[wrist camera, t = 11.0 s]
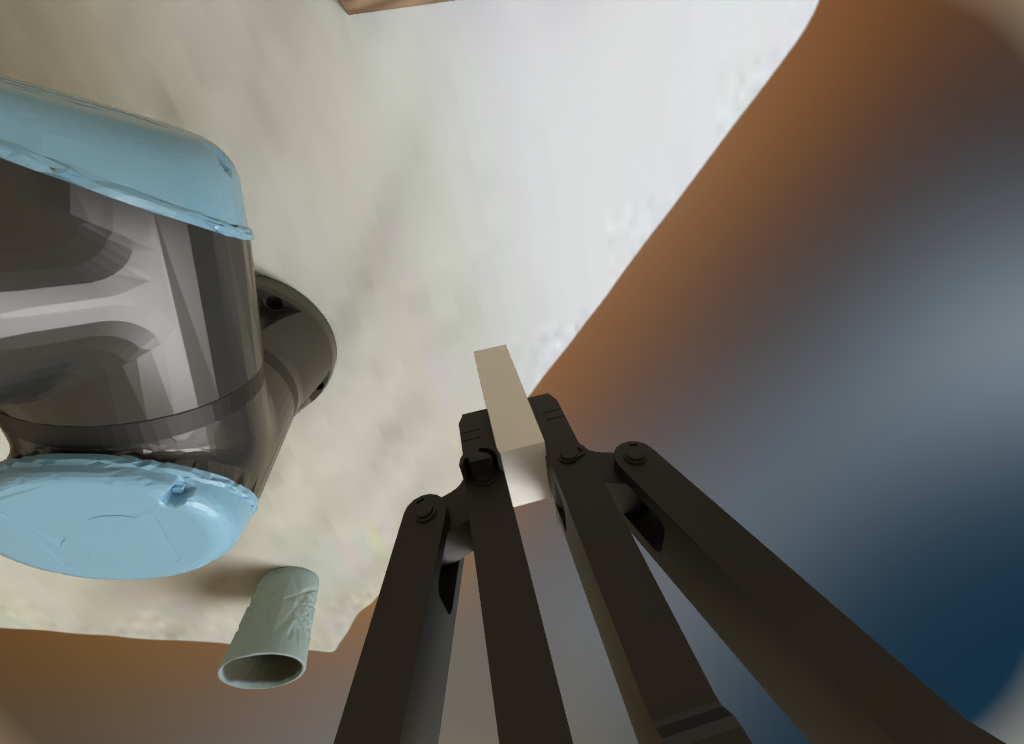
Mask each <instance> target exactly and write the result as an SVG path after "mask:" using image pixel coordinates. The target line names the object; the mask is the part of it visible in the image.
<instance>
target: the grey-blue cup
mask: <svg viewBox="0 0 1024 744" xmlns="http://www.w3.org/2000/svg"><path fill="white" fill-rule="evenodd" d="M318 588H319V579H318V577H317V575H316V574H315V573H313V572H312V571H310V570H307V569H304V568H299V567H283V568H278V569H274V570H272V571H270V572H268V573H266V574H265V575H264V576H263V577H262V578H261V579H260V581H259V583H258V585H257V587H256V589H255V592H254V594H253V596H252V599H251V603H250V606H249V607H248V608H247V609H246V611H245V614H244V616H243V618H242V621H241V623H240V625H239V629H238V631H237V632H236V634H235V636H234V638H233V640H232V642H231V644H230V646H229V649H228V651H227V653H226V655H225V657H224V659H223V661H222V663H221V665H220V667H219V669H218V676H219V679H220V680H221V681H223V682H224V683H226V684H228V685H230V686H233V687H238V688H245V689H263V688H272V687H277V686H281V685H284V684H287V683H290V682H292V681H294V680H296V679H297V678H299V677H300V676H301V675H302V674H303V673H304V671H305V669H306V663H307V655H308V648H309V642H310V628H311V627H312V624H313V617H314V611H315V608H314V606H315V602H316V599H317V593H318Z"/></svg>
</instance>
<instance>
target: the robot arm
mask: <svg viewBox="0 0 1024 744" xmlns="http://www.w3.org/2000/svg"><path fill="white" fill-rule="evenodd" d="M251 240H254V236H253V232H252V230H251V229H250V228H249V227H248V225H247V219H246V213H245V207H244V202H243V196H242V190H241V184H240V179H239V175H238V172H237V170H236V168H235V166H234V164H233V163H232V161H231V160H230V158H229V157H228V156H227V155H226V154H225V153H224V152H223V151H222V150H221V149H220V148H219V147H218V146H216V145H215V144H214V143H212V142H211V141H209V140H207V139H205V138H204V137H202V136H200V135H197V134H195V133H192V132H190V131H187V130H184V129H181V128H178V127H175V126H172V125H169V124H166V123H163V122H160V121H156V120H153V119H150V118H147V117H143V116H140V115H137V114H134V113H130V112H127V111H124V110H120V109H117V108H113V107H110V106H107V105H103V104H100V103H96V102H93V101H89V100H86V99H82V98H79V97H75V96H72V95H68V94H65V93H61V92H58V91H54V90H51V89H47V88H44V87H40V86H37V85H33V84H29V83H26V82H22V81H19V80H15V79H11V78H8V77H4V76H1V75H0V428H1V430H2V431H3V433H4V435H5V437H6V439H7V440H8V442H9V445H10V453H9V455H8V457H7V459H5V460H3V461H1V462H0V555H2V556H4V557H7V558H9V559H12V560H14V561H16V562H19V563H22V564H25V565H28V566H31V567H34V568H37V569H41V570H45V571H50V572H55V573H61V574H64V575H69V576H75V577H82V578H91V579H105V580H142V579H153V578H161V577H167V576H172V575H177V574H182V573H185V572H189V571H192V570H195V569H197V568H200V567H202V566H204V565H206V564H207V563H209V562H210V561H213V560H215V559H217V558H219V557H221V556H223V555H224V554H225V553H226V552H228V551H229V550H230V549H231V548H232V547H233V546H234V545H235V543H236V542H237V541H238V539H239V537H240V536H241V534H242V532H243V530H244V528H245V527H246V525H247V523H248V521H249V520H250V518H251V516H253V515H254V513H255V512H256V511H257V509H258V502H259V498H260V495H261V493H262V491H263V488H264V486H265V484H266V481H267V479H268V477H269V474H270V472H271V470H272V467H273V465H274V463H275V460H276V458H277V455H278V453H279V451H280V448H281V446H282V444H283V441H284V439H285V437H286V434H287V432H288V430H289V427H290V425H291V422H292V420H293V417H294V416H295V415H296V414H297V413H299V412H300V411H301V410H302V409H304V408H305V407H306V406H307V405H308V404H310V403H311V402H312V401H313V400H315V399H316V398H317V397H318V396H319V395H320V394H321V393H322V391H323V390H324V389H325V387H326V386H327V384H328V382H329V380H330V378H331V375H332V373H333V370H334V367H335V363H336V358H337V347H336V341H335V337H334V334H333V332H332V329H331V327H330V325H329V323H328V322H327V320H326V318H325V317H324V316H323V314H322V313H321V312H320V311H319V310H318V308H317V307H316V306H315V305H314V304H313V303H312V302H310V301H309V300H308V299H307V298H306V297H304V296H303V295H302V294H300V293H299V292H297V291H296V290H294V289H292V288H290V287H289V286H287V285H285V284H283V283H280V282H278V281H275V280H273V279H270V278H266V277H263V276H259V275H255V274H254V265H253V257H252V248H251ZM474 356H475V360H476V365H477V369H478V374H479V378H480V382H481V387H482V391H483V395H484V400H485V404H486V408H487V409H484V410H479V411H475V412H471V413H467V414H463V415H462V418H461V420H460V422H459V429H460V436H461V444H462V451H463V455H462V457H461V458H460V464H459V466H460V469H461V472H462V476H463V481H462V482H461V484H460V485H459V486H458V487H457V488H456V489H455V490H453V491H452V492H451V493H449V494H447V495H445V496H443V497H442V498H441V497H440V496H438V495H434V494H427V495H423V496H420V497H418V498H417V499H415V500H413V501H412V502H411V503H410V504H409V505H408V507H407V509H406V511H405V512H404V515H403V518H402V522H401V525H400V528H399V531H398V535H397V538H396V541H395V545H394V548H393V551H392V554H391V558H390V561H389V564H388V567H387V571H386V574H385V577H384V581H383V584H382V587H381V590H380V594H379V597H378V600H377V604H376V607H375V610H374V613H373V617H372V620H371V623H370V626H369V630H368V633H367V636H366V639H365V643H364V646H363V649H362V653H361V656H360V659H359V663H358V666H357V669H356V672H355V676H354V679H353V682H352V685H351V688H350V692H349V695H348V698H347V702H346V705H345V708H344V712H343V715H342V718H341V722H340V724H339V728H338V731H337V734H336V737H335V741H334V744H438V741H439V734H440V727H441V719H442V713H443V705H444V698H445V691H446V684H447V677H448V670H449V663H450V656H451V649H452V641H453V635H454V627H455V620H456V613H457V605H458V599H459V592H460V584H461V578H462V570H463V563H464V557H465V556H466V555H467V554H469V553H471V552H472V551H474V556H475V563H476V571H477V579H478V586H479V594H480V601H481V608H482V616H483V624H484V630H485V638H486V646H487V654H488V661H489V669H490V676H491V684H492V691H493V699H494V707H495V714H496V722H497V729H498V737H499V744H573V742H572V737H571V734H570V729H569V726H568V722H567V718H566V714H565V710H564V706H563V702H562V698H561V694H560V690H559V686H558V682H557V678H556V674H555V670H554V666H553V662H552V659H551V654H550V650H549V646H548V643H547V638H546V635H545V631H544V627H543V623H542V619H541V615H540V611H539V607H538V603H537V599H536V595H535V591H534V587H533V583H532V579H531V575H530V571H529V567H528V563H527V559H526V555H525V552H524V548H523V544H522V540H521V536H520V532H519V528H518V524H517V520H516V516H515V512H514V508H513V507H516V506H519V505H523V504H527V503H530V502H534V501H538V500H542V499H546V498H549V497H552V496H551V492H552V495H553V497H554V500H555V508H556V517H557V524H558V523H560V524H561V526H562V529H563V532H564V535H565V538H566V541H567V543H568V546H569V549H570V552H571V555H572V557H573V560H574V563H575V566H576V568H577V572H578V574H579V577H580V580H581V583H582V585H583V588H584V591H585V594H586V597H587V599H588V602H589V605H590V608H591V611H592V613H593V616H594V619H595V622H596V625H597V627H598V631H599V633H600V636H601V639H602V642H603V645H604V647H605V650H606V653H607V656H608V659H609V662H610V664H611V667H612V670H613V673H614V675H615V678H616V681H617V684H618V687H619V690H620V692H621V695H622V698H623V701H624V704H625V706H626V709H627V712H628V715H629V718H630V721H631V724H632V726H633V729H634V732H635V735H636V737H637V740H638V743H639V744H752V743H751V741H750V739H749V738H748V736H747V735H746V733H745V731H744V729H743V728H742V726H741V725H740V723H739V722H738V721H737V719H736V718H735V717H734V715H733V714H732V713H730V712H729V711H728V710H727V709H726V708H724V707H723V706H722V704H721V703H720V702H719V701H718V699H717V697H716V695H715V694H714V692H713V690H712V688H711V686H710V684H709V682H708V680H707V678H706V676H705V675H704V673H703V671H702V669H701V667H700V665H699V663H698V661H697V659H696V657H695V655H694V653H693V652H692V650H691V648H690V646H689V644H688V642H687V640H686V638H685V636H684V634H683V632H682V631H681V629H680V627H679V625H678V623H677V621H676V619H675V617H674V615H673V614H672V611H671V609H670V607H669V605H668V604H667V602H666V600H665V598H664V596H663V594H662V592H661V590H660V588H659V586H658V584H657V582H656V580H655V579H654V577H653V575H652V573H651V571H650V569H649V567H648V565H647V563H646V561H645V559H644V558H643V556H642V554H641V552H640V550H639V548H638V546H637V544H636V542H635V540H634V538H633V536H632V534H633V535H634V536H635V538H636V539H637V540H638V541H639V542H640V543H641V545H642V546H643V547H644V548H645V549H646V551H647V552H648V553H649V554H650V555H651V556H652V558H653V559H654V560H655V561H656V562H657V563H658V565H659V566H660V567H661V568H662V569H663V571H664V572H665V573H666V574H667V575H668V576H669V578H670V579H671V580H672V581H673V582H674V584H675V585H676V586H677V587H678V588H679V589H680V591H681V592H682V593H683V594H684V595H685V596H686V598H687V599H688V600H689V601H690V602H691V604H692V605H693V606H694V607H695V608H696V609H697V611H698V612H699V613H700V614H701V615H702V617H703V618H704V619H705V620H706V621H707V622H708V623H709V625H710V626H711V627H712V628H713V629H714V631H715V632H716V633H717V634H718V635H719V637H720V638H721V639H722V640H723V641H724V642H725V644H726V645H727V646H728V647H729V648H730V649H731V651H732V652H733V653H734V654H735V655H736V657H737V658H738V659H739V660H740V661H741V662H742V664H743V665H744V666H745V667H746V668H747V669H748V671H749V672H750V673H751V674H752V675H753V677H754V678H755V679H756V680H757V681H758V682H759V684H760V685H761V686H762V687H763V688H764V690H765V691H766V692H767V693H768V694H769V695H770V697H771V698H772V699H773V700H774V701H775V702H776V704H777V705H778V706H779V707H780V708H781V709H782V711H783V712H784V713H785V714H786V715H787V717H788V718H789V719H790V720H791V721H792V722H793V724H794V725H795V726H796V727H797V728H798V730H799V731H800V732H801V733H802V734H803V735H804V736H805V738H806V739H807V740H808V741H809V743H810V744H1006V743H1004V742H1002V741H1001V740H999V739H997V738H996V737H994V736H992V735H991V734H989V733H988V732H986V731H984V730H983V729H981V728H979V727H977V726H976V725H974V724H973V723H971V722H969V721H968V720H966V719H965V718H963V717H962V716H961V715H960V714H959V713H958V712H957V711H955V710H954V709H953V708H952V707H951V706H950V705H948V704H947V703H946V702H945V701H944V700H943V699H941V698H940V697H939V696H938V695H937V694H936V693H935V692H933V691H932V690H931V689H930V688H929V687H928V686H926V685H925V684H924V683H923V682H922V681H921V680H920V679H918V678H917V677H916V676H915V675H914V674H913V673H911V672H910V671H909V670H908V669H907V668H906V667H904V666H903V665H902V664H901V663H900V662H899V661H898V660H896V659H895V658H894V657H893V656H892V655H891V654H889V653H888V652H887V651H886V650H885V649H884V648H882V647H881V646H880V645H879V644H878V643H877V642H875V641H874V640H873V639H872V638H871V637H870V636H869V635H867V634H866V633H865V632H864V631H863V630H862V629H860V628H859V627H858V626H857V625H856V624H854V622H852V621H851V620H850V619H849V618H848V617H847V616H845V615H844V614H843V613H842V612H841V611H839V609H837V608H836V607H835V606H834V605H833V604H831V603H830V602H829V601H828V600H827V599H826V598H824V597H823V596H822V595H821V594H820V593H819V592H818V591H816V590H815V589H814V588H813V587H812V586H811V585H810V584H808V583H807V582H806V581H805V580H804V579H803V578H801V577H800V576H799V575H798V574H797V573H796V572H795V571H793V570H792V569H791V568H790V567H789V566H787V565H786V564H785V563H784V562H783V561H782V560H781V559H779V558H778V557H777V556H776V555H775V554H774V553H773V552H771V551H770V550H769V549H768V548H767V547H766V546H764V545H763V544H762V543H761V542H760V541H759V540H758V539H756V538H755V537H754V536H753V535H752V534H751V533H749V532H748V531H747V530H746V529H745V528H744V527H742V526H741V525H740V524H739V523H738V522H737V521H736V520H734V519H733V518H732V517H731V516H730V515H728V514H727V513H726V512H725V511H724V510H723V509H722V508H720V507H719V506H718V505H717V504H716V503H715V502H714V501H712V500H711V499H710V498H709V497H708V496H707V495H705V494H704V493H703V492H702V491H701V490H700V489H698V488H697V487H696V486H695V485H694V484H693V483H691V482H690V481H689V480H688V479H687V478H686V477H685V476H683V475H682V474H681V473H680V472H679V471H677V469H675V468H674V467H673V466H672V465H671V464H670V463H668V462H667V461H666V460H665V459H664V458H663V457H661V456H660V455H659V454H658V453H657V452H656V451H655V450H653V449H652V448H651V447H649V446H648V445H646V444H644V443H640V442H633V441H629V442H625V443H622V444H621V445H619V446H618V447H616V450H615V452H614V453H601V452H594V451H590V450H588V449H586V448H585V447H584V446H583V445H581V444H580V443H579V442H578V441H577V439H576V437H575V435H574V433H573V431H572V429H571V427H570V425H569V423H568V421H567V419H566V417H565V416H564V413H563V411H562V410H561V407H560V405H559V403H558V402H557V400H556V399H555V398H554V397H552V396H551V395H550V394H548V393H547V394H543V395H538V396H535V397H530V398H527V396H526V394H525V392H524V389H523V387H522V384H521V382H520V379H519V377H518V374H517V372H516V369H515V367H514V364H513V362H512V359H511V357H510V354H509V352H508V349H507V347H506V345H501V346H497V347H493V348H488V349H484V350H479V351H475V352H474ZM631 533H632V534H631Z"/></svg>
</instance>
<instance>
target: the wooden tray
mask: <svg viewBox="0 0 1024 744" xmlns="http://www.w3.org/2000/svg"><path fill="white" fill-rule="evenodd" d="M339 1H340V2H341V4H342V5H343V7H344V9H345V10H346V12H347V13H348V15H352V14H359V13H366V12H373V11H381V10H388V9H395V8H402V7H410V6H417V5H424V4H431V3H439V2H446V1H453V0H339Z"/></svg>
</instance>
